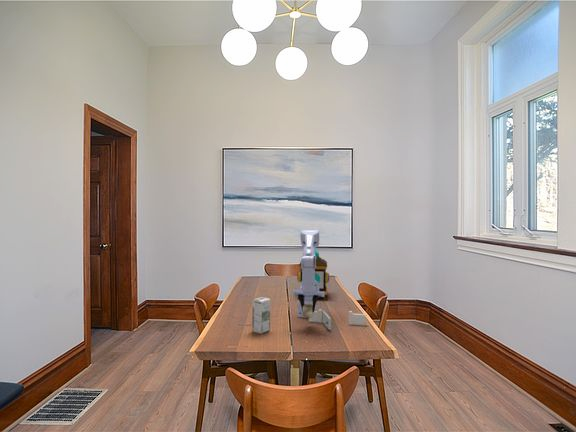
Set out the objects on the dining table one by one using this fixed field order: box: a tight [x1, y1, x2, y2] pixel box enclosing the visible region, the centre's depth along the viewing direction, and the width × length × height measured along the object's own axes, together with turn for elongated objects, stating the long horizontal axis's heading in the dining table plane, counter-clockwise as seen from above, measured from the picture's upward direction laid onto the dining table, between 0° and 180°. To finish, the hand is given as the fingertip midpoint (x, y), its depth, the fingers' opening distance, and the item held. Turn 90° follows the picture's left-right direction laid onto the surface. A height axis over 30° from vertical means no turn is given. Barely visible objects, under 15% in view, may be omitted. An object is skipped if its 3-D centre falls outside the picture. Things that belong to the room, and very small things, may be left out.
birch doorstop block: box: [302, 303, 314, 319], centre depth 154 cm, size 4×8×4 cm, turn 168°
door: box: [322, 310, 332, 331], centre depth 157 cm, size 11×2×5 cm, turn 8°
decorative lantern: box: [296, 248, 330, 301], centre depth 210 cm, size 20×20×30 cm
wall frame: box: [308, 308, 366, 326], centre depth 161 cm, size 27×2×6 cm, turn 78°
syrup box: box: [251, 296, 271, 335], centre depth 151 cm, size 6×6×14 cm
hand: (308, 311), depth 155 cm, fingers closed on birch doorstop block, 4 cm apart
